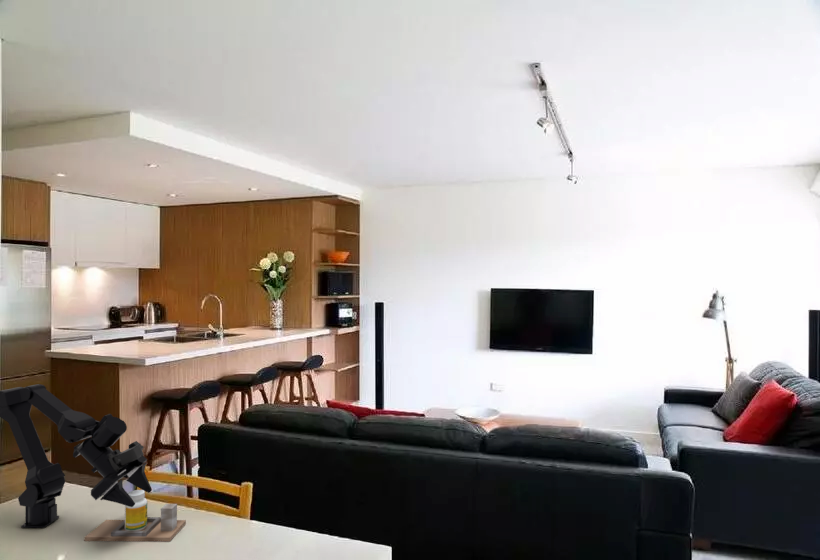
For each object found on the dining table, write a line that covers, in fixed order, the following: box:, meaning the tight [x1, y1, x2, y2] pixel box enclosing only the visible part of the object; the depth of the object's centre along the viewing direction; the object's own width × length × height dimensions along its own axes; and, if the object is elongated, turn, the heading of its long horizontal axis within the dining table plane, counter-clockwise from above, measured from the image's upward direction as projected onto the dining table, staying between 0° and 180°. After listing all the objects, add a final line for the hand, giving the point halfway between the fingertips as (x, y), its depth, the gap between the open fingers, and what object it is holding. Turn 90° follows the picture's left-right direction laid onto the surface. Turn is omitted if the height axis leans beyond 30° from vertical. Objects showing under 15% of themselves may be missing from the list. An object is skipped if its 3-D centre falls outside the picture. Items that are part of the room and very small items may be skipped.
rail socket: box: [84, 503, 187, 542], centre depth 143 cm, size 22×10×7 cm, turn 91°
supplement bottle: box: [124, 489, 148, 531], centre depth 143 cm, size 5×5×10 cm
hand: (142, 498), depth 143 cm, fingers open, 9 cm apart
